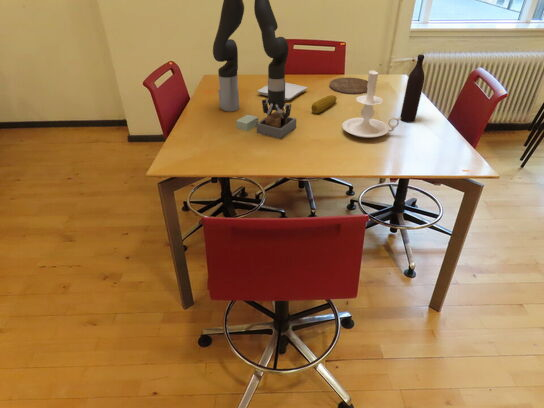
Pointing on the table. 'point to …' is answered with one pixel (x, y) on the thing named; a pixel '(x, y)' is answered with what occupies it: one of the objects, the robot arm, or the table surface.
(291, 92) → the salad plate
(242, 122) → the sage carton
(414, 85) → the wine bottle
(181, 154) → the table surface
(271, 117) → the walnut block
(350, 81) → the trivet
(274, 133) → the tray
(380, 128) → the candlestick
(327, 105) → the food
